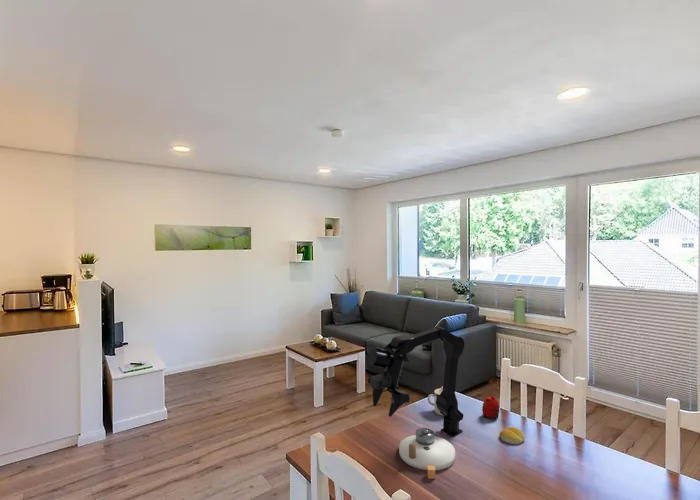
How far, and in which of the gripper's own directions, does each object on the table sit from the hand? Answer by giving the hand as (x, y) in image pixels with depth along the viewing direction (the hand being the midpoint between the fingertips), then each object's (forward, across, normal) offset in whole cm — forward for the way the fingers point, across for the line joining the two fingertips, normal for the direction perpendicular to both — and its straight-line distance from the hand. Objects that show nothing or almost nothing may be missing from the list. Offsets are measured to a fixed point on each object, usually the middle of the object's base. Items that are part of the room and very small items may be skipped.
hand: (381, 411), depth 140 cm
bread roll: (-2, +25, +48) cm, 54 cm away
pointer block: (+11, +23, +7) cm, 27 cm away
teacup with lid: (+1, -8, +44) cm, 45 cm away
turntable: (+9, +14, +14) cm, 22 cm away
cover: (+6, +9, +17) cm, 20 cm away
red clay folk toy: (-4, +9, +57) cm, 58 cm away
